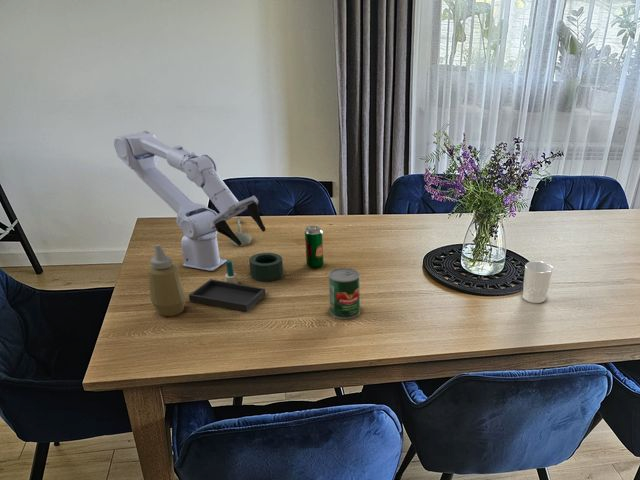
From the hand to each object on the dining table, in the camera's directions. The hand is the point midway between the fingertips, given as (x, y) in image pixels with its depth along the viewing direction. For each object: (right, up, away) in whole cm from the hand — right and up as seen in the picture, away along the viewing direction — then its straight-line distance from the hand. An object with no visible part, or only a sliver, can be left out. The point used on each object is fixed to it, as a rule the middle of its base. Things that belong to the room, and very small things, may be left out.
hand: (252, 237), depth 165 cm
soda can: (+12, -5, +20) cm, 24 cm away
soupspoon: (-17, +8, +36) cm, 41 cm away
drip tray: (-6, -17, -2) cm, 18 cm away
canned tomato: (+26, -21, -2) cm, 33 cm away
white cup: (+78, -16, +14) cm, 81 cm away
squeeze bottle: (-17, -21, -10) cm, 29 cm away
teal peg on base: (-8, -12, +5) cm, 15 cm away
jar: (0, -9, +12) cm, 15 cm away
